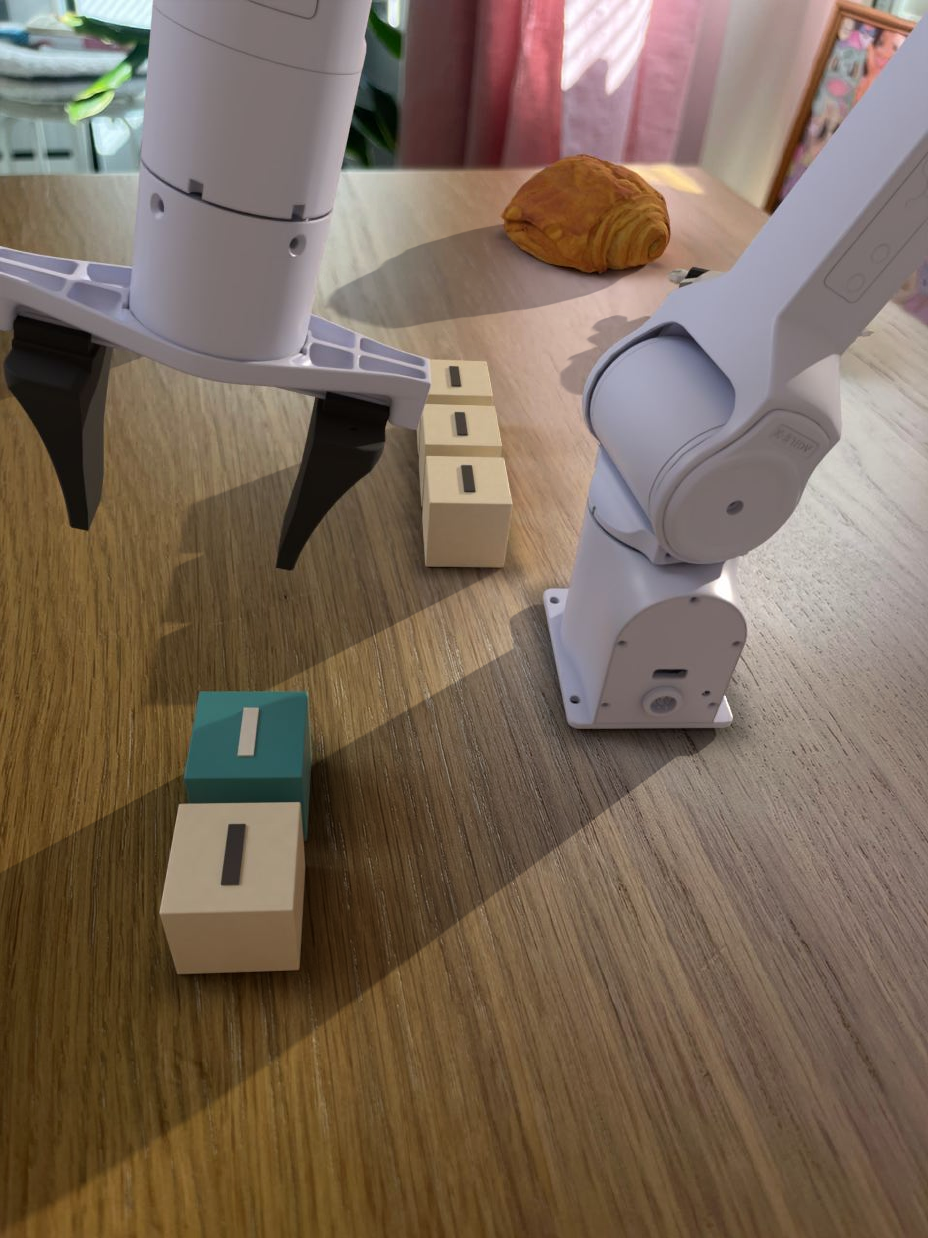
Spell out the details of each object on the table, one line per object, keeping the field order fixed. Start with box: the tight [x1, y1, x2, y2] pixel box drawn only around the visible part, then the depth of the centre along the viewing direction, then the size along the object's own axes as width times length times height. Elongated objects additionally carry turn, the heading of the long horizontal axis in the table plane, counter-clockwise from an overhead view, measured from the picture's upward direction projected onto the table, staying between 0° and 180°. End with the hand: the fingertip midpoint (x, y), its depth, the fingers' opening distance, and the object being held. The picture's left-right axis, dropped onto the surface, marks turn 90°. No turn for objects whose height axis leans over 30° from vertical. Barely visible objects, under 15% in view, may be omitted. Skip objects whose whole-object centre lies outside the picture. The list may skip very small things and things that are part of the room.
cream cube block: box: [416, 358, 494, 456], centre depth 60 cm, size 4×4×4 cm
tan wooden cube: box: [418, 404, 503, 508], centre depth 56 cm, size 4×4×4 cm
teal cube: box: [183, 690, 313, 842], centre depth 38 cm, size 4×4×4 cm
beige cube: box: [421, 456, 513, 568], centre depth 52 cm, size 4×4×4 cm
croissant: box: [500, 153, 672, 274], centre depth 85 cm, size 14×16×8 cm
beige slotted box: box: [159, 802, 306, 975], centre depth 34 cm, size 4×4×4 cm
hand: (188, 534), depth 36 cm, fingers open, 7 cm apart
